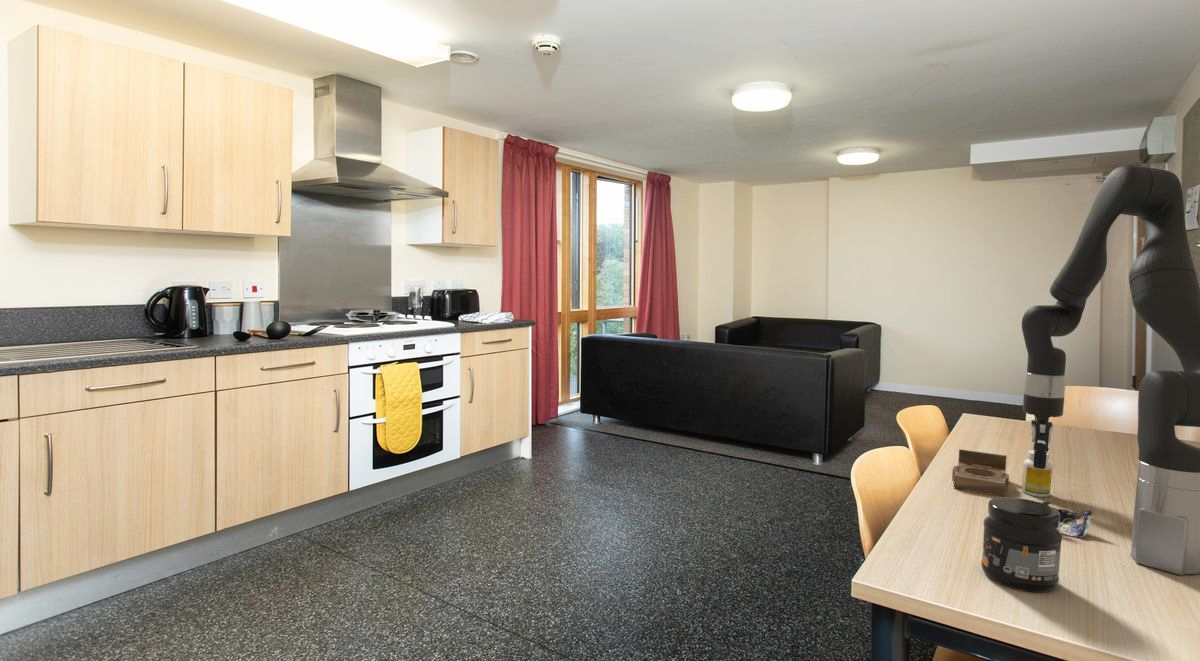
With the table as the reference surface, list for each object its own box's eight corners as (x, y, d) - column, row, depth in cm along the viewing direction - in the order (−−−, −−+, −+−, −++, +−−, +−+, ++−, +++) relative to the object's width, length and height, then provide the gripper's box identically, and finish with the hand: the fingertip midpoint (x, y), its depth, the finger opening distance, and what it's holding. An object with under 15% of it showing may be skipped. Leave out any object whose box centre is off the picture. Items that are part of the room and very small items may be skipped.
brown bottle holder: (1007, 497, 141) (1009, 471, 141) (950, 487, 148) (951, 462, 147) (1008, 480, 154) (1009, 456, 154) (955, 471, 160) (956, 448, 160)
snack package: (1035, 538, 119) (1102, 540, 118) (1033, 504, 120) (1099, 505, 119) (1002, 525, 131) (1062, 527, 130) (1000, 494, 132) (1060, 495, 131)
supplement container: (989, 558, 109) (993, 491, 108) (1063, 579, 102) (1069, 506, 101) (973, 578, 102) (977, 506, 101) (1052, 602, 95) (1058, 524, 94)
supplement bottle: (1016, 489, 147) (1019, 448, 147) (1041, 490, 147) (1043, 449, 146) (1030, 497, 142) (1033, 455, 141) (1055, 498, 141) (1058, 456, 141)
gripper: (1066, 400, 135) (1060, 474, 136) (1062, 390, 146) (1057, 458, 148) (1024, 396, 139) (1018, 468, 140) (1024, 387, 151) (1019, 453, 152)
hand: (1038, 463), depth 144 cm, fingers open, 8 cm apart
